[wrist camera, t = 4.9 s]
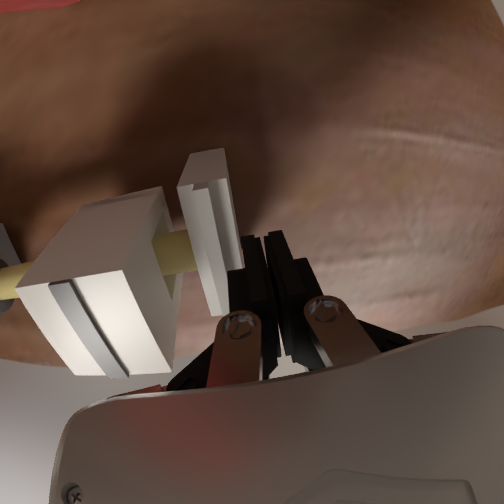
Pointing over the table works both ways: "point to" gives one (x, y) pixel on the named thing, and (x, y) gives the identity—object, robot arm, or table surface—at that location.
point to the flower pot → (32, 4)
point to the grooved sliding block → (107, 289)
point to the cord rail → (176, 235)
